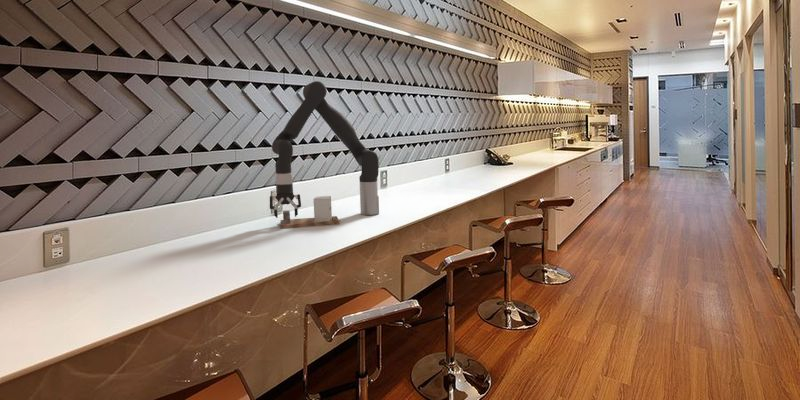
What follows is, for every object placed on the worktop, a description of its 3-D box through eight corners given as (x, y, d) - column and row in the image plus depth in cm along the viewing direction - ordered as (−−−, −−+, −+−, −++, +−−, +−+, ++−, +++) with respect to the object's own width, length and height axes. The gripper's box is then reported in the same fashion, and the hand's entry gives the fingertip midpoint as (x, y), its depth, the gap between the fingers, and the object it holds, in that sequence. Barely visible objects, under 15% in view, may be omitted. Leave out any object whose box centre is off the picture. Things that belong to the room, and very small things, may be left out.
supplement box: (329, 224, 208) (328, 198, 206) (314, 224, 209) (312, 198, 206) (332, 221, 216) (331, 195, 213) (317, 221, 216) (316, 196, 214)
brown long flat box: (336, 218, 219) (336, 206, 218) (339, 224, 208) (338, 210, 207) (280, 223, 213) (279, 209, 212) (280, 228, 202) (279, 214, 200)
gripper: (299, 181, 210) (301, 214, 213) (268, 182, 206) (270, 216, 209) (300, 183, 203) (301, 217, 205) (267, 184, 199) (270, 219, 202)
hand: (286, 216), depth 207 cm, fingers open, 8 cm apart
